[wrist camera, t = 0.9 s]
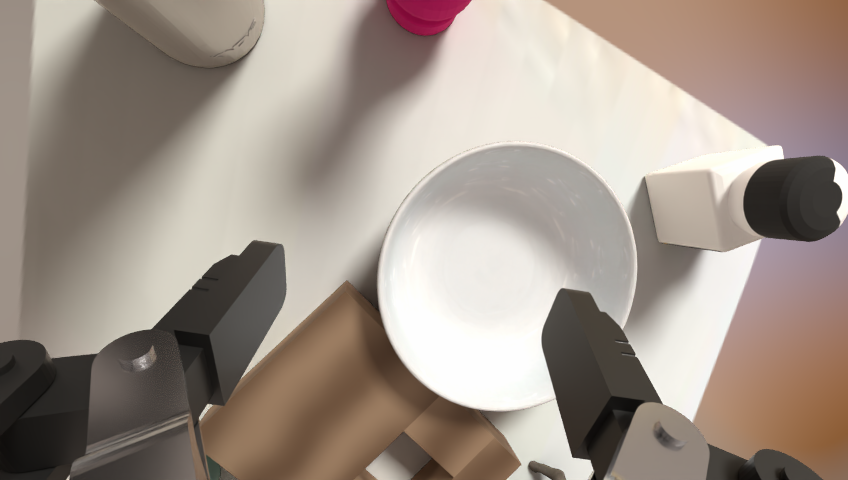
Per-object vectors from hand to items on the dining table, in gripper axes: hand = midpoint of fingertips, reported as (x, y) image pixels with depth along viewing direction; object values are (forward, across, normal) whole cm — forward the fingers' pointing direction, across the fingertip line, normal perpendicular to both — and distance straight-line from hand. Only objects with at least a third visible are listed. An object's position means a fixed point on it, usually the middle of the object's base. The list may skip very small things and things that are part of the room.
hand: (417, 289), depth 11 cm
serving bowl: (+20, -7, +12) cm, 25 cm away
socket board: (+12, +2, +26) cm, 28 cm away
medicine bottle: (+27, -25, +5) cm, 38 cm away
